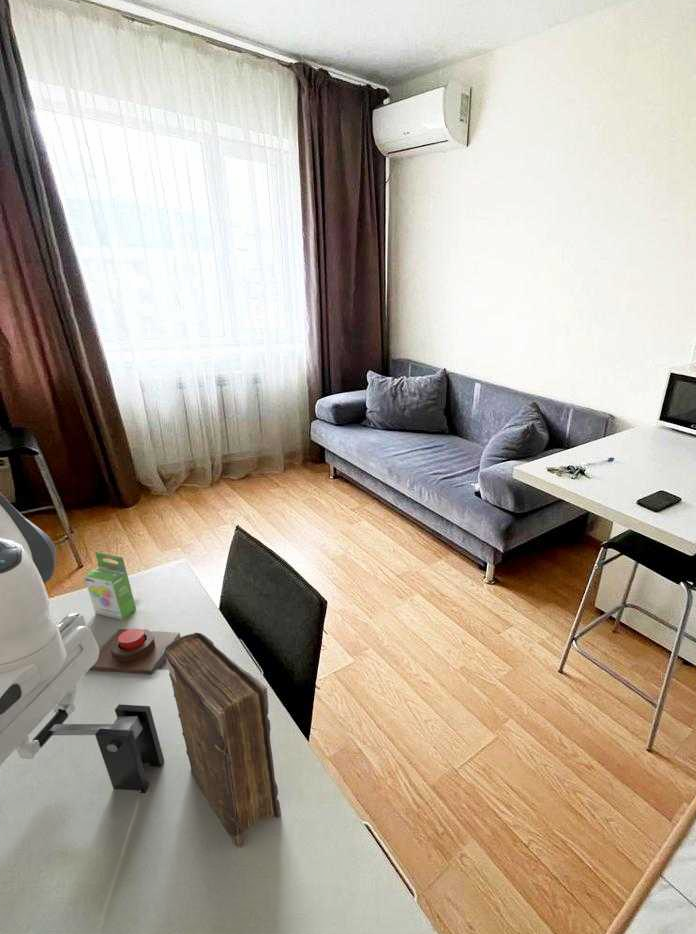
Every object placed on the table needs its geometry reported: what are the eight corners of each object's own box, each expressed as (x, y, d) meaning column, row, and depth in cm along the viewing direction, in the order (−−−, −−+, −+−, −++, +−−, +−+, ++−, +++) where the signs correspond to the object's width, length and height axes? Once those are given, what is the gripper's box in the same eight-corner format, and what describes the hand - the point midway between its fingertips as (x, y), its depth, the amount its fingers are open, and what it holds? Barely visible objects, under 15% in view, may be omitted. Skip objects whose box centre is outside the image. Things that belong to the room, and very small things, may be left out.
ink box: (94, 614, 104) (78, 561, 98) (110, 603, 107) (95, 551, 102) (121, 621, 103) (107, 567, 97) (137, 609, 106) (124, 557, 101)
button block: (87, 675, 89) (81, 658, 88) (121, 637, 99) (117, 621, 97) (153, 679, 89) (148, 662, 88) (181, 641, 99) (178, 625, 97)
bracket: (79, 809, 68) (54, 746, 63) (120, 751, 77) (101, 690, 71) (165, 815, 68) (147, 752, 63) (197, 756, 77) (184, 696, 71)
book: (188, 769, 74) (157, 641, 64) (234, 742, 79) (213, 618, 69) (234, 858, 64) (207, 723, 54) (285, 821, 69) (269, 689, 58)
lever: (33, 751, 67) (25, 739, 66) (60, 720, 71) (54, 708, 70) (127, 751, 66) (121, 738, 65) (149, 719, 71) (144, 707, 70)
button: (115, 649, 91) (113, 642, 90) (128, 634, 94) (126, 627, 94) (137, 651, 91) (135, 643, 90) (149, 636, 94) (147, 628, 94)
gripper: (57, 604, 72) (79, 675, 78) (-84, 722, 54) (-41, 803, 59) (100, 608, 72) (119, 678, 78) (-26, 727, 54) (11, 807, 59)
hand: (49, 733), depth 69 cm, fingers closed on lever, 5 cm apart
